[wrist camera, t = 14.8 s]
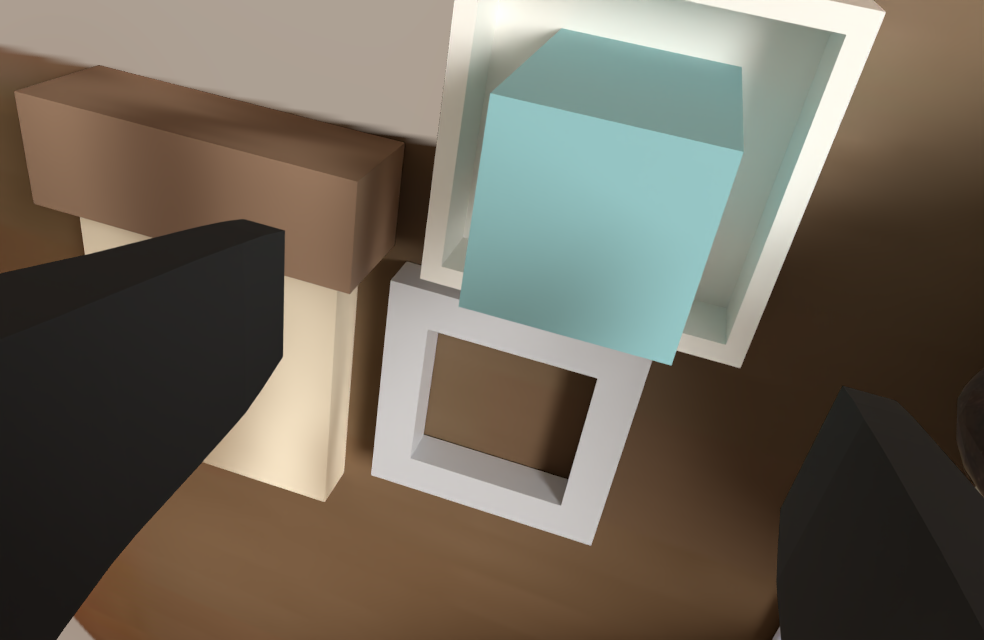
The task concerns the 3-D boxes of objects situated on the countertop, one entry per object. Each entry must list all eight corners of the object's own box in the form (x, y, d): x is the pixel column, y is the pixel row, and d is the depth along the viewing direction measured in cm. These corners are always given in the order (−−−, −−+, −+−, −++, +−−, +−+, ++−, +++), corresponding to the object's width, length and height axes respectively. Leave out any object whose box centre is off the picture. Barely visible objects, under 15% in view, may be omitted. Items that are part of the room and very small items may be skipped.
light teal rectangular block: (689, 233, 19) (671, 365, 14) (530, 193, 19) (457, 306, 14) (741, 67, 17) (743, 151, 12) (561, 28, 17) (490, 93, 12)
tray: (868, -5, 16) (885, 12, 14) (740, 322, 20) (740, 368, 18) (493, -82, 17) (463, -76, 15) (447, 243, 21) (420, 278, 19)
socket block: (658, 331, 21) (654, 354, 20) (596, 518, 25) (591, 545, 24) (406, 261, 22) (390, 280, 21) (385, 451, 26) (371, 474, 25)
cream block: (368, 234, 22) (338, 263, 21) (349, 463, 27) (324, 502, 25) (122, 167, 23) (75, 189, 22) (146, 398, 28) (109, 431, 27)
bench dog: (404, 142, 20) (357, 181, 18) (394, 245, 22) (349, 294, 19) (98, 64, 21) (14, 91, 19) (110, 167, 23) (33, 203, 20)
